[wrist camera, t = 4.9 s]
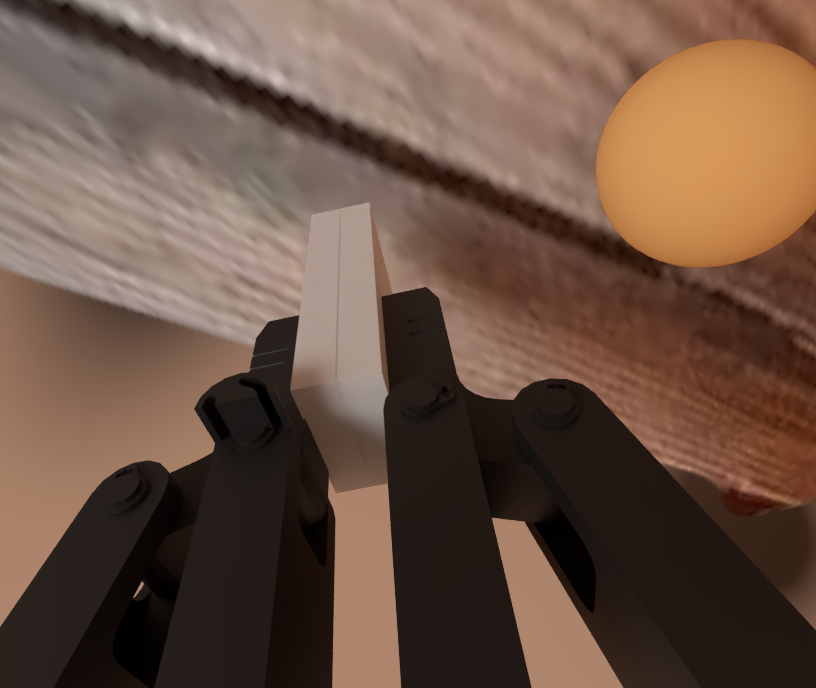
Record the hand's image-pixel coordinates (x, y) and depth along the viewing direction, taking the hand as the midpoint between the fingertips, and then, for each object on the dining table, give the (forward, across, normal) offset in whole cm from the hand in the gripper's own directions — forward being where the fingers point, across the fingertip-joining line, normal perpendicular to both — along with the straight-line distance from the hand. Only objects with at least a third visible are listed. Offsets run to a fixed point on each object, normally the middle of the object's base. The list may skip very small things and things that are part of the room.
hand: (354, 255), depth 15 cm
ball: (0, +10, 0) cm, 10 cm away
